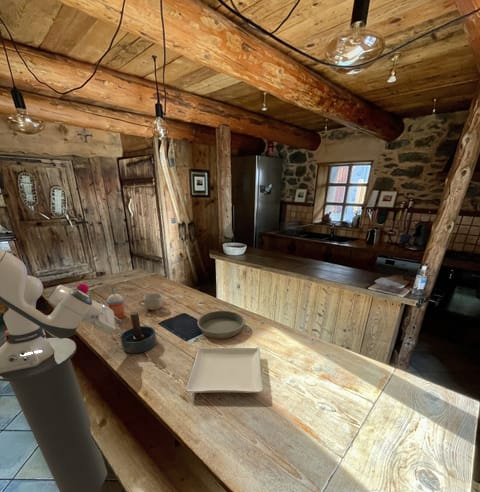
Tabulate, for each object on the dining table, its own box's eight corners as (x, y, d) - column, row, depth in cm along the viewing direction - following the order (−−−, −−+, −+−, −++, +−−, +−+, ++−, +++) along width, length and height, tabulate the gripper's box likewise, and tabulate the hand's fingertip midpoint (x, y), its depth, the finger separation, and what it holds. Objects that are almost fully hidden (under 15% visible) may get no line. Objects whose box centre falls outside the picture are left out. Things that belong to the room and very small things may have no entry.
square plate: (259, 354, 118) (259, 346, 116) (262, 399, 93) (263, 391, 91) (198, 354, 118) (198, 346, 117) (185, 398, 93) (184, 390, 92)
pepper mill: (98, 311, 160) (90, 279, 152) (91, 316, 154) (82, 283, 146) (87, 310, 161) (79, 279, 153) (79, 315, 155) (70, 283, 147)
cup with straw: (107, 316, 154) (100, 287, 146) (123, 311, 159) (117, 283, 152) (113, 321, 148) (106, 291, 140) (129, 316, 153) (123, 287, 146)
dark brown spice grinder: (135, 347, 122) (129, 316, 116) (133, 342, 126) (127, 312, 119) (146, 344, 124) (140, 313, 118) (143, 340, 128) (138, 310, 122)
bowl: (126, 358, 116) (123, 346, 114) (120, 342, 128) (117, 331, 125) (160, 347, 123) (159, 336, 121) (151, 333, 135) (149, 323, 133)
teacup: (161, 303, 170) (160, 291, 167) (165, 309, 161) (163, 297, 158) (138, 307, 165) (136, 295, 161) (141, 314, 156) (138, 302, 152)
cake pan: (204, 345, 125) (204, 336, 123) (193, 322, 146) (192, 315, 144) (252, 334, 133) (252, 326, 131) (234, 314, 154) (234, 307, 152)
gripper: (96, 316, 103) (128, 332, 111) (97, 298, 120) (124, 313, 128) (86, 328, 103) (118, 344, 111) (88, 309, 120) (116, 323, 128)
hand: (121, 327), depth 119 cm, fingers open, 8 cm apart
